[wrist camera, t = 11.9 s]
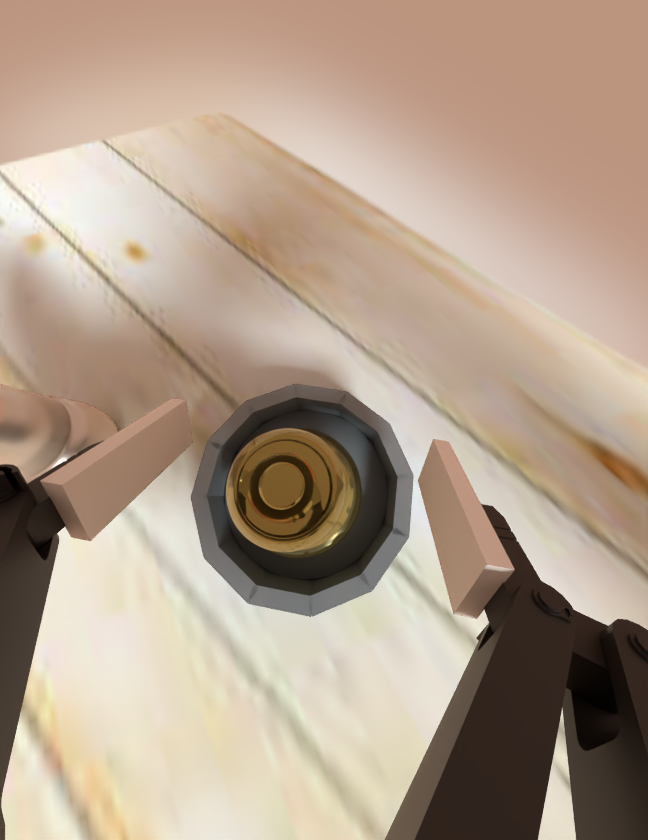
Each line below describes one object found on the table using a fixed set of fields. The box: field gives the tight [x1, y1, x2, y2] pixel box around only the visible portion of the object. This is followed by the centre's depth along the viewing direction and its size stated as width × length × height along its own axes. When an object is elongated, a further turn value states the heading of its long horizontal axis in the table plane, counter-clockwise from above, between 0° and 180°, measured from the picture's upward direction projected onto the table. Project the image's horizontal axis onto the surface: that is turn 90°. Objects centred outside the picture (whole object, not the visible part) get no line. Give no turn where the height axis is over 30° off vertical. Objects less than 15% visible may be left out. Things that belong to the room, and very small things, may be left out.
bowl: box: [191, 384, 413, 617], centre depth 19 cm, size 14×14×4 cm
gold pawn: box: [226, 428, 362, 559], centre depth 15 cm, size 7×7×10 cm
